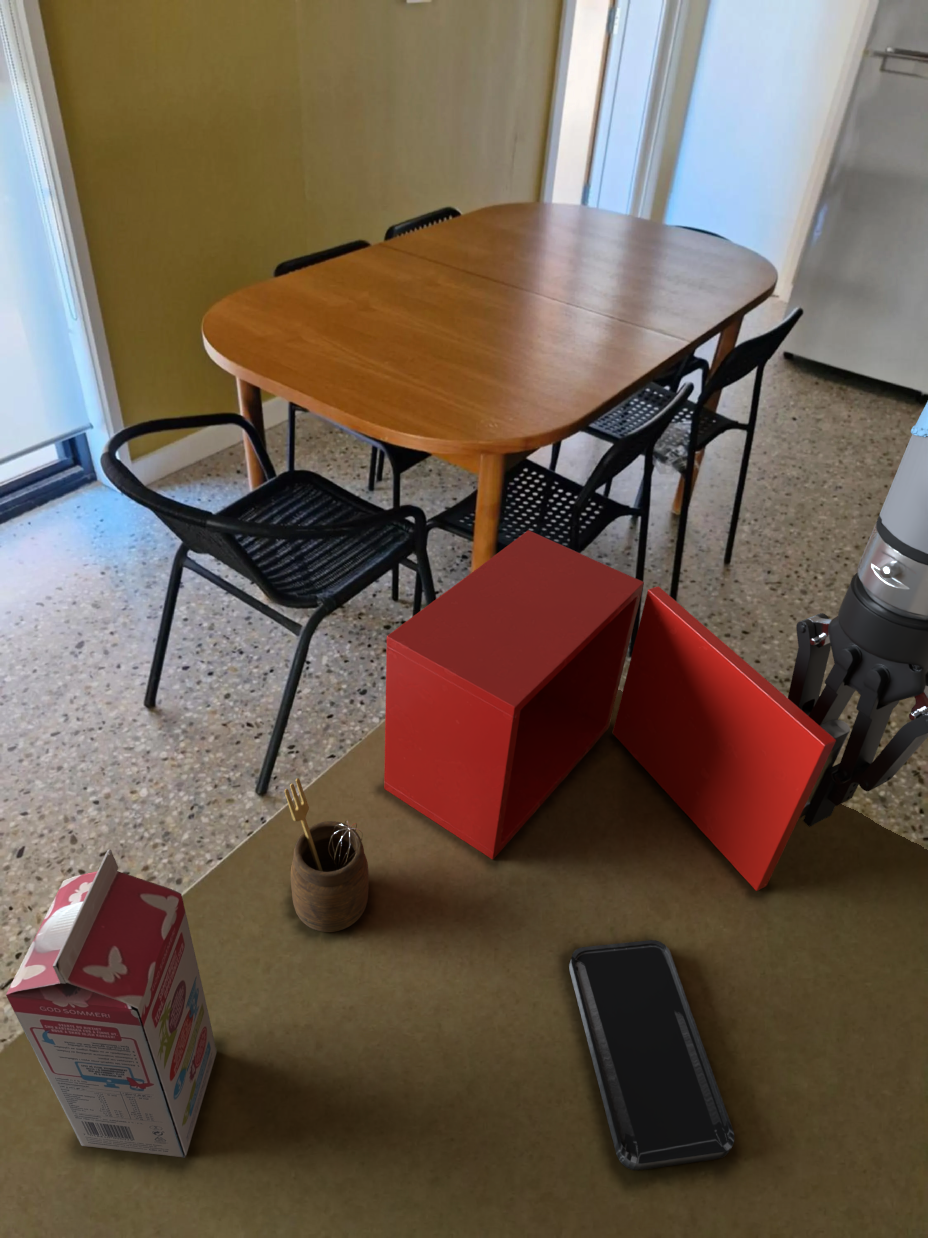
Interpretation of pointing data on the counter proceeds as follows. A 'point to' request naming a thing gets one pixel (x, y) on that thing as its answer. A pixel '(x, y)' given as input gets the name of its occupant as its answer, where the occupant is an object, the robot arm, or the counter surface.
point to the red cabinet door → (721, 738)
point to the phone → (648, 1057)
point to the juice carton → (118, 1012)
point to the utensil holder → (327, 871)
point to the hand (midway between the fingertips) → (806, 808)
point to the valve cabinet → (505, 687)
